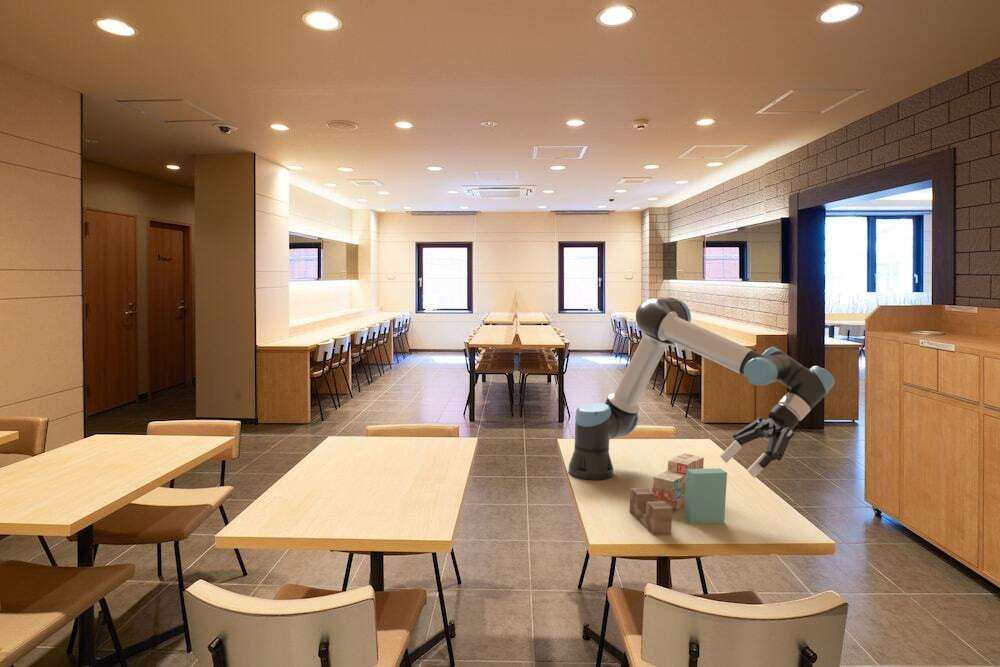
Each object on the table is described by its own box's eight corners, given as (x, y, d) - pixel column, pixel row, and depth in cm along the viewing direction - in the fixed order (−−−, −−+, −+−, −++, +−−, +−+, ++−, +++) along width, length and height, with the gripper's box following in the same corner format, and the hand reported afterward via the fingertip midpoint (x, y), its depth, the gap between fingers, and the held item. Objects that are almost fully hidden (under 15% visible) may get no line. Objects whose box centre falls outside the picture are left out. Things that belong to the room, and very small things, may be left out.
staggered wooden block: (629, 512, 175) (630, 488, 174) (646, 511, 176) (647, 487, 175) (653, 535, 159) (654, 508, 159) (671, 534, 160) (672, 507, 159)
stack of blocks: (671, 513, 175) (673, 471, 174) (651, 507, 179) (653, 466, 178) (702, 495, 191) (704, 456, 190) (683, 490, 195) (685, 452, 194)
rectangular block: (683, 518, 171) (686, 469, 170) (716, 516, 173) (719, 468, 172) (690, 523, 167) (693, 473, 166) (724, 522, 169) (727, 472, 168)
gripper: (754, 395, 184) (705, 445, 182) (810, 412, 159) (754, 470, 158) (769, 412, 185) (720, 462, 183) (827, 432, 161) (772, 490, 159)
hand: (736, 466), depth 171 cm, fingers open, 13 cm apart
